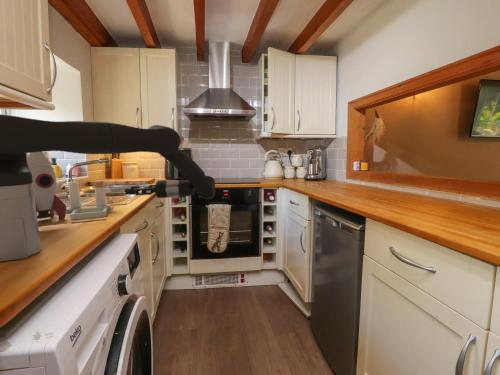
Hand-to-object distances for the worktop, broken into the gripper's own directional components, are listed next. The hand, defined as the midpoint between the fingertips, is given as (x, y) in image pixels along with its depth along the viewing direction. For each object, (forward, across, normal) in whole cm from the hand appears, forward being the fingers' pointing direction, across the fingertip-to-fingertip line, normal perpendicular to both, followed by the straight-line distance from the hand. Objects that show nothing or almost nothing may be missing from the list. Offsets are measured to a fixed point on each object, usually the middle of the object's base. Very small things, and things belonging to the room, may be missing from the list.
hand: (128, 190), depth 113 cm
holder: (+20, +2, +9) cm, 22 cm away
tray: (+12, +10, +9) cm, 18 cm away
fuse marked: (+11, 0, +8) cm, 13 cm away
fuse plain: (+20, +2, +8) cm, 21 cm away
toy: (+24, +16, +9) cm, 30 cm away
